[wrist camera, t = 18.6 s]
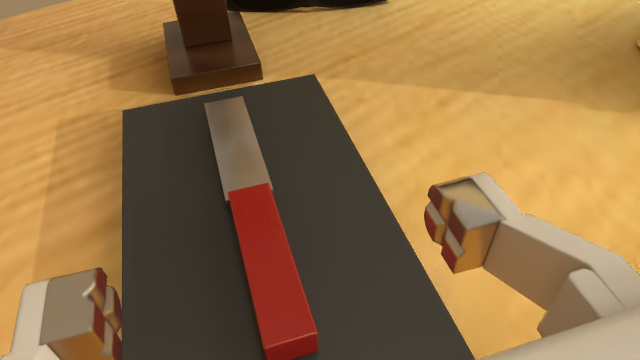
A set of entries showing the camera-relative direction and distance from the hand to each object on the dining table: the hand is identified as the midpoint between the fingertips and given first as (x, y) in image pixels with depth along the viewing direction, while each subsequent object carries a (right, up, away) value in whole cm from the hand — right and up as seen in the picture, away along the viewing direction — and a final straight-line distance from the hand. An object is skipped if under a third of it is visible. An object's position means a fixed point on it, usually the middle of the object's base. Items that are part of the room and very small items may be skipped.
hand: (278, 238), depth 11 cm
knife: (-3, +1, +14) cm, 14 cm away
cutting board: (-3, -1, +15) cm, 15 cm away
